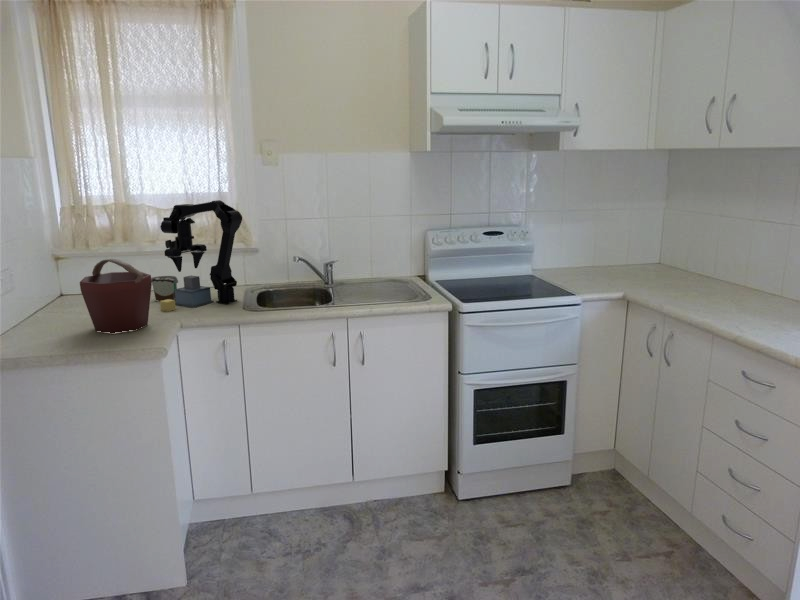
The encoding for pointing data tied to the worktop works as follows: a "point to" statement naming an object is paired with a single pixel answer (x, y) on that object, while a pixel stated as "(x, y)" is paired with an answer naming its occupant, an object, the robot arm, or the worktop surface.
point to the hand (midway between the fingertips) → (187, 269)
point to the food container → (164, 287)
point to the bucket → (117, 298)
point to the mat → (195, 305)
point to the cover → (192, 292)
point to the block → (167, 305)
